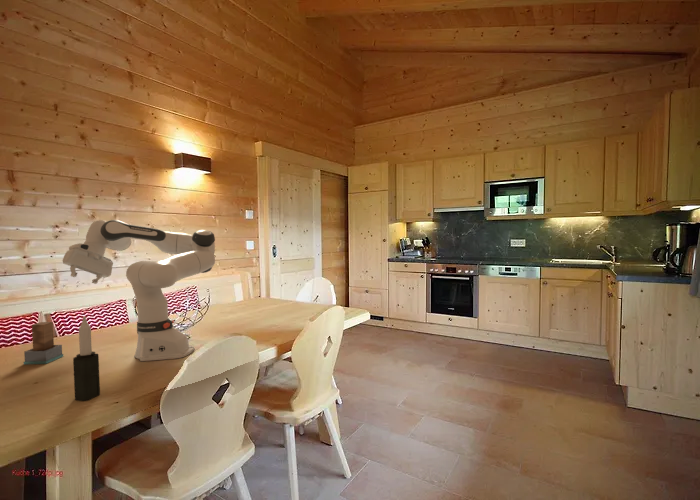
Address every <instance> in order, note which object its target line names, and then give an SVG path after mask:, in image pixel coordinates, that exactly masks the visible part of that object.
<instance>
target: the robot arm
mask: <svg viewBox="0 0 700 500" xmlns="http://www.w3.org/2000/svg"><path fill="white" fill-rule="evenodd" d="M132 239H135V240H141V241H147V242H149V243H151V244H153V245H154V246H155V247H157V249H158V250H159V251H161V252H162V253H165V254H169V255H172V256H170V257H169V258H166V259H163V260H139V261H136V262H134V263H131V264H130V265H129V266H128V267H127V269H126V271H125V272H126V274H125V276H126V279H127V280H128V282H129V283H130V284H131V287H132V290H133V292H134V297H135V300H136V305H137V322H136V332H137V344H136V349H135V350H136V351H135V354H134V358H136V359H138V360H139V361H140V362H149V361H159V360H172V359H175V360H176V359H181V358H182V359H183V358H184V357H186V356H188V355H190V354H191V353H193V352H194V350H195V346H194V345H190V344H189V340H188V336H187V335H186V334H184V333H183V332H181V331H180V330H178V329H176V328H175V327H174V326H173V325H174V323H175V320H174V319H173V320H171V319H170V318H169V310H168V309H169V308H168V307H169V306H168V304H169V302H168V299H167V298H166V297H165V295H164V293H163V290H162V289H166V288H170V287H172V286H173V285H175V283H177V282H178V281H181V280H182V279H186V278H189V277H191V276H192V277H193V276H195V275H198V274H204V273H205V274H206V273H208V272H210V271H211V270H213V267H214V266H215V263H216V256H215V252H216V249H215V248H216V245H215V244H216V243H215V241H216V238H215V234H214V232H212V231H211V230H208V229H198V230H196V231H194V232H193V234H191V233H185V232H173V231H166V230H162V229H158V228H153V227H147V226H141V225H135V224H129V223H127V222H124V221H121V220H119V219H111V220H103V219H100V220H95V221H93V222H92V223H91V224H90V225H89V228H88V230H87V233H86V235H85V241H84V242H83V243H75V244H72V245H70V246H69V247H68V250H67V251H66V252H65V253H64V255H63V258H62V263H63V264H64V265H66V266H69V270H70V277H73V278H77V276H78V272H76V269H77V270H78V269H79V270H81V271H84V272H87V273H89V274H92V275H95V277H96V278H94V279H92V282H91V284H94V285H96V284H98V282H99V280H100V279H102V278H109V277H110V276H111V275H112V271H113V265H114V262H113V260H112V259H111V258H108V257H106V256H105V252H106V249H109V250H113V251H117V252H121V251H122V252H123V251H126V250H127V249H128V248H130V246H131V245H132Z"/></svg>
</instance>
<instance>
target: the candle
mask: <svg viewBox="0 0 700 500" xmlns="http://www.w3.org/2000/svg"><path fill="white" fill-rule="evenodd" d="M78 339H79V353H77V354H76V356H75V357H73V358H72V360H73V361H72V363H73V365H72V366H73V384H74V385H73V387H74V400H75V401H77V402H78V401H79V402H80V401H81V402H87V401H90V400H92V399H94V398H96V397H98V396H100V395H101V386H100V385H101V384H100V363H99V362H100V361H99V360H100V359H99V358H100V357H99V356H100V355H99V354H98V353H96V352H95V351H92V350H93V349H92V329H91V325H90V324H89V323H88V321H87V317H86V316H82V321H81V324H80V326H79V328H78Z"/></svg>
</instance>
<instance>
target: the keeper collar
mask: <svg viewBox="0 0 700 500" xmlns="http://www.w3.org/2000/svg"><path fill="white" fill-rule="evenodd" d="M23 354H24V355H23V357H24V361H23V365H47V364H50V363H52V362H54V361H56V360H59V359H60V358H63V357H64V354H63V344H54V347H53V348H50V349H48V350H43V351H33V348H30V349H28V350H25V351H24V352H23Z"/></svg>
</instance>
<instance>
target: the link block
mask: <svg viewBox="0 0 700 500" xmlns="http://www.w3.org/2000/svg"><path fill="white" fill-rule="evenodd" d="M31 332H32V333H31V334H32V335H31V336H32V337H31V338H32V349H33V351H43V350H48V349H50V348H53V347H54V345H55V343H54V342H55V341H54V322H53V321H41V322H36V323H34V324H33V323H32V324H31Z"/></svg>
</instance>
